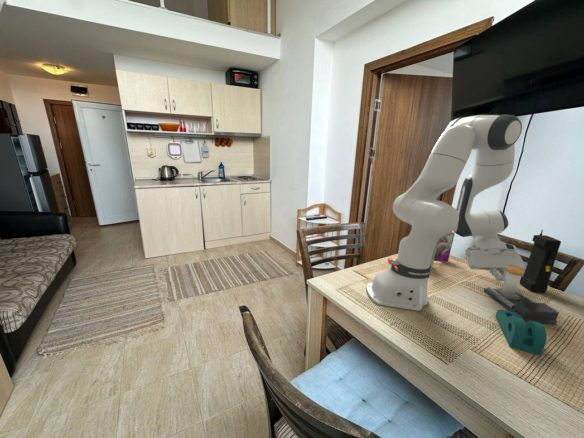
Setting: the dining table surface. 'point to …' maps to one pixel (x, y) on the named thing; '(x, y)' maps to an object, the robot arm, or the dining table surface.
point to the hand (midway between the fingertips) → (501, 280)
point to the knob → (511, 282)
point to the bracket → (522, 332)
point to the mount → (526, 308)
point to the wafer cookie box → (444, 247)
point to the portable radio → (540, 263)
